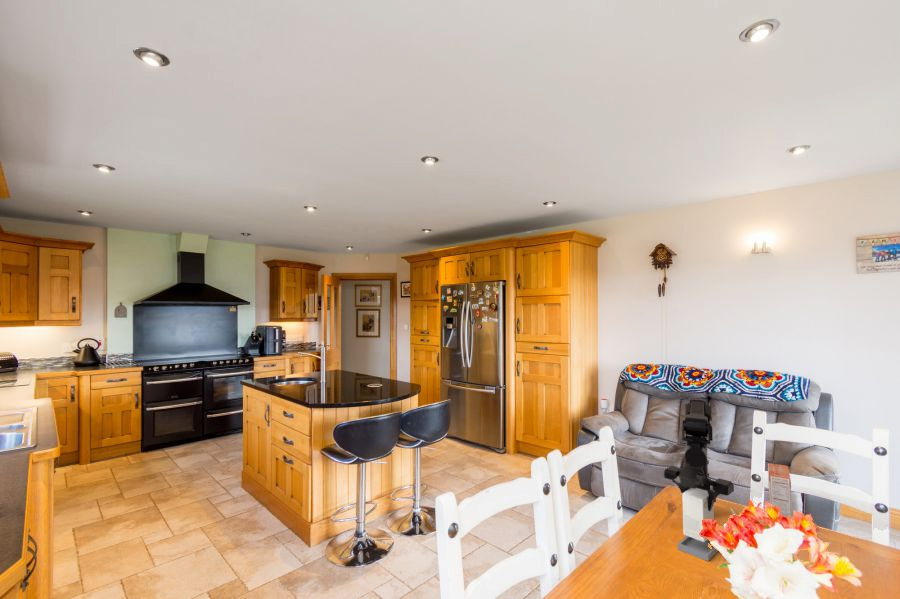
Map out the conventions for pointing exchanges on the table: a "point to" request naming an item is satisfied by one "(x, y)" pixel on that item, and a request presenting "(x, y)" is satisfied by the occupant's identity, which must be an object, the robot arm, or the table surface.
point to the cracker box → (780, 488)
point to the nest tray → (697, 548)
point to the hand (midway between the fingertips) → (698, 507)
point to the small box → (695, 512)
